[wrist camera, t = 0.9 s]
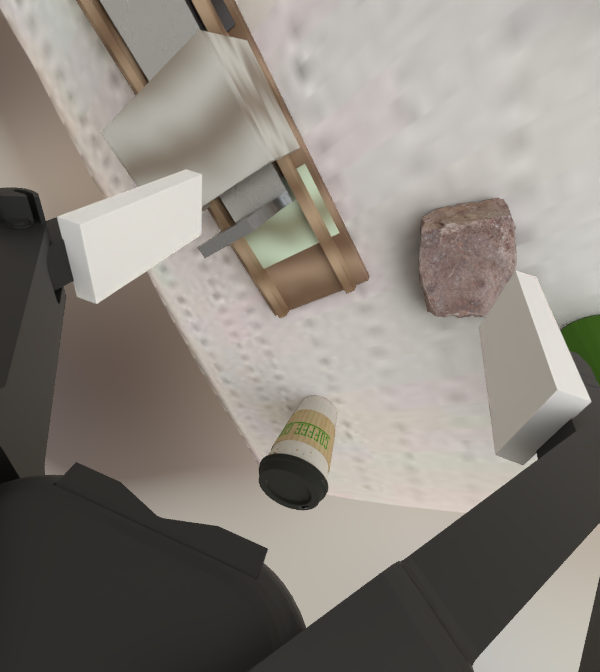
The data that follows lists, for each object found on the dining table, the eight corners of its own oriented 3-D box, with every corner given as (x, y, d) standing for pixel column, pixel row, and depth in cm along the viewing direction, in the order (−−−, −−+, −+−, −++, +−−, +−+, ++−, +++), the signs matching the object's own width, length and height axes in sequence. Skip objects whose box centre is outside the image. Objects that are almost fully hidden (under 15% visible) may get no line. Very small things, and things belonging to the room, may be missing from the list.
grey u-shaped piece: (63, -69, 32) (-54, -116, 25) (109, -150, 28) (-13, -235, 21) (243, 229, 43) (200, 260, 35) (294, 199, 39) (259, 228, 32)
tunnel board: (59, -40, 35) (-45, -74, 28) (144, -185, 28) (35, -282, 20) (278, 311, 50) (249, 350, 43) (369, 276, 43) (354, 316, 36)
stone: (424, 308, 44) (423, 328, 40) (415, 209, 38) (412, 222, 34) (510, 302, 40) (517, 324, 36) (514, 192, 34) (522, 204, 31)
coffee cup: (325, 379, 55) (293, 459, 43) (360, 423, 58) (339, 509, 46) (279, 397, 60) (240, 472, 49) (313, 436, 63) (284, 516, 51)
